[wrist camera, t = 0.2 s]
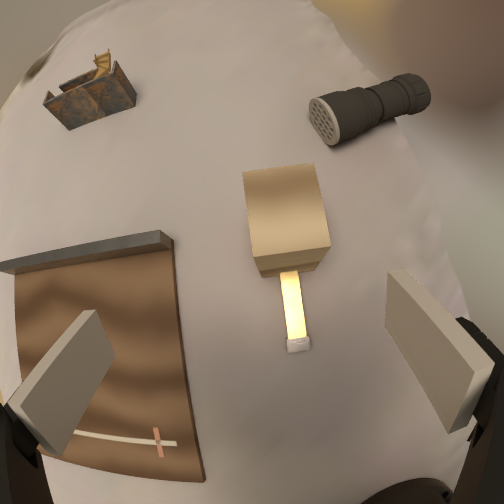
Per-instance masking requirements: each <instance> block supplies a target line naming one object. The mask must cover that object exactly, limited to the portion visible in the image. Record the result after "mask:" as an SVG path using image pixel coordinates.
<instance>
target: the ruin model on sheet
mask: <svg viewBox="0 0 504 504" xmlns="http://www.w3.org/2000/svg"><path fill="white" fill-rule="evenodd" d="M93 61H94V62H95V64H96V66H97V68H96V69H94V70H91V71H89V72H87V73H84V74H82V75H80V76H78V77H76V78H73V79H71V80H69V81H67V82H65V83H63V84H61V85H59V88H60V89H61V90H62V91H63V92H64V93H62V94H60V95H58V96H56V97H55V96H54V95H53V94H52V93H51V92H50V91H47V94H46V97H45V99H44V102H43V105H44V106H45V107H46V108H47V109H48V110H49V111H50V112H51V113H52V114H53V115H54V116H55V117H56V118H57V119H58V120H59V121H60V122H61V123H62V124H63V125H64V126H65V127H66V128H67V129H68V130H69V131H70V130H72V129H75V128H77V127H80V126H82V125H85V124H87V123H90V122H92V121H95V120H98V119H101V118H103V117H106V116H109V115H112V114H115V113H118V112H121V111H124V110H127V109H130V108H133V107H135V105H136V96H137V93H136V92H135V90H134V88H133V87H132V85H131V84H130V82H129V80H128V79H127V77H126V75H125V74H124V72H123V71H122V69H121V67H120V66H119V64H118V62H117V61H114V64H113V68H112V72H111V73H109V72H110V71H111V55H110V53H109V49H108V52H107V53H104V54H102V55H99V56H97V57H96V54H95V60H93Z"/></svg>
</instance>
